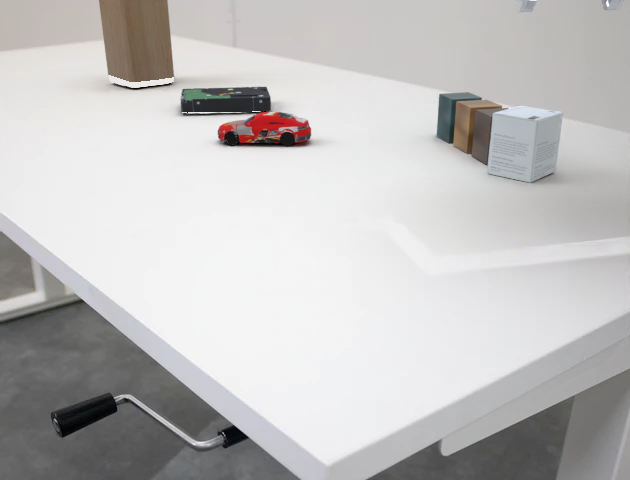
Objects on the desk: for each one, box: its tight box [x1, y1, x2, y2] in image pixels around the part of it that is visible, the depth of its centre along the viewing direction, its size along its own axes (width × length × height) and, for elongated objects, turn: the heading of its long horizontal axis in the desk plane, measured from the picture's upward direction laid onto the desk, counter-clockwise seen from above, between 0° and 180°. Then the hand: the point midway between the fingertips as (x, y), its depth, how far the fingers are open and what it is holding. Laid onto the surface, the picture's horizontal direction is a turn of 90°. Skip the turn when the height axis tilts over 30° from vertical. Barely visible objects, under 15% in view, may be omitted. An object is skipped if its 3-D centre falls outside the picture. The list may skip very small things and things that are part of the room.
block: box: [98, 0, 175, 82], centre depth 147 cm, size 10×10×20 cm
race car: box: [217, 111, 312, 147], centre depth 106 cm, size 13×5×4 cm, turn 84°
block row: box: [436, 91, 510, 166], centre depth 101 cm, size 16×4×6 cm, turn 14°
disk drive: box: [180, 86, 272, 113], centre depth 128 cm, size 10×3×15 cm
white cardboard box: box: [486, 105, 564, 184], centre depth 90 cm, size 6×6×7 cm
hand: (566, 6), depth 79 cm, fingers open, 8 cm apart
